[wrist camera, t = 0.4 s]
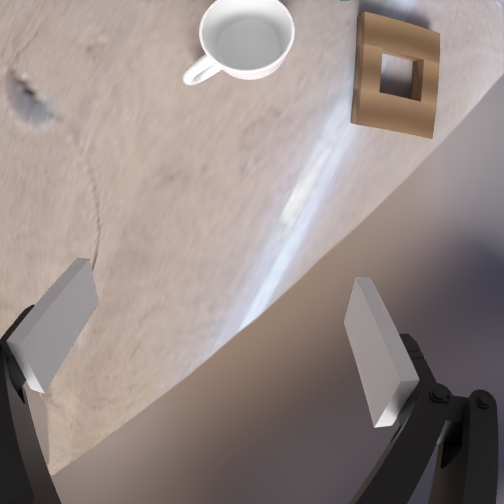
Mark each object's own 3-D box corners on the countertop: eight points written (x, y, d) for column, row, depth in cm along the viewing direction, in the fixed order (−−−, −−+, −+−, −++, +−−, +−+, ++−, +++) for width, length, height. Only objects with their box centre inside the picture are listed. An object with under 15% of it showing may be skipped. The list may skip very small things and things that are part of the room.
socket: (357, 17, 29) (364, 11, 27) (429, 36, 29) (440, 33, 27) (350, 122, 36) (357, 124, 33) (421, 135, 36) (432, 139, 33)
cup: (299, 56, 32) (313, 42, 23) (215, 111, 36) (200, 115, 27) (258, 5, 29) (258, -25, 20) (175, 60, 33) (148, 48, 24)
